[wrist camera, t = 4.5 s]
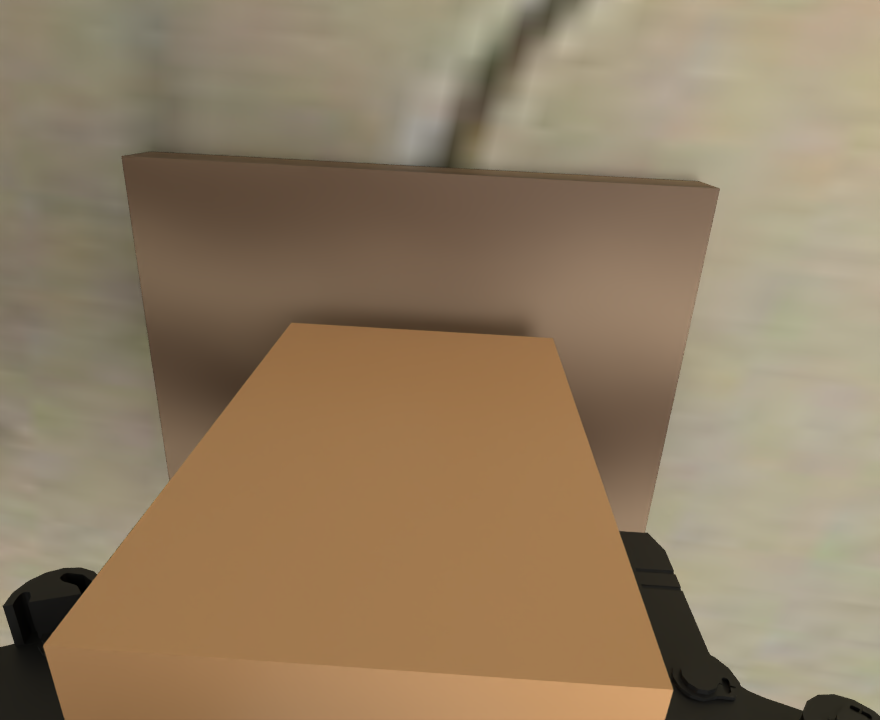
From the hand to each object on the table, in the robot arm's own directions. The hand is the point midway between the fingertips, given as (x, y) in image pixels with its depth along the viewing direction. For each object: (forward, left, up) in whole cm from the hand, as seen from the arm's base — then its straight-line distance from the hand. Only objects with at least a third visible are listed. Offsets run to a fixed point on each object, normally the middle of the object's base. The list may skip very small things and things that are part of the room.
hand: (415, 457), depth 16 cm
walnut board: (+6, 0, -4) cm, 7 cm away
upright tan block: (0, 0, -1) cm, 1 cm away
